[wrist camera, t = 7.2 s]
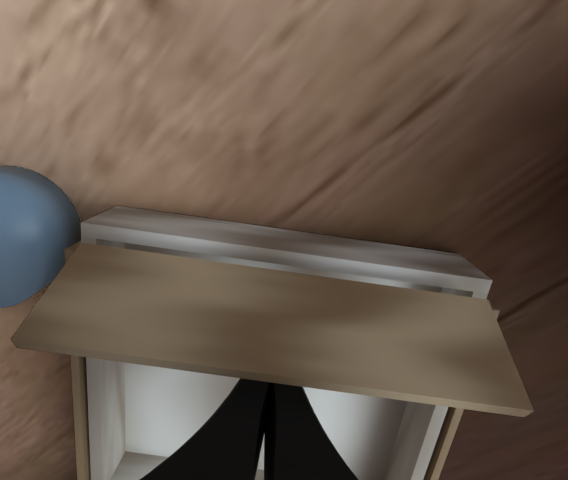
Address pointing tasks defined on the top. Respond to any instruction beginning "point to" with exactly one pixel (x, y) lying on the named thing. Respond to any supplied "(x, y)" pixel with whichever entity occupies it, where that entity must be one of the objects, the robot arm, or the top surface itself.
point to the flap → (277, 329)
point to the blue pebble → (32, 233)
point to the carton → (214, 388)
